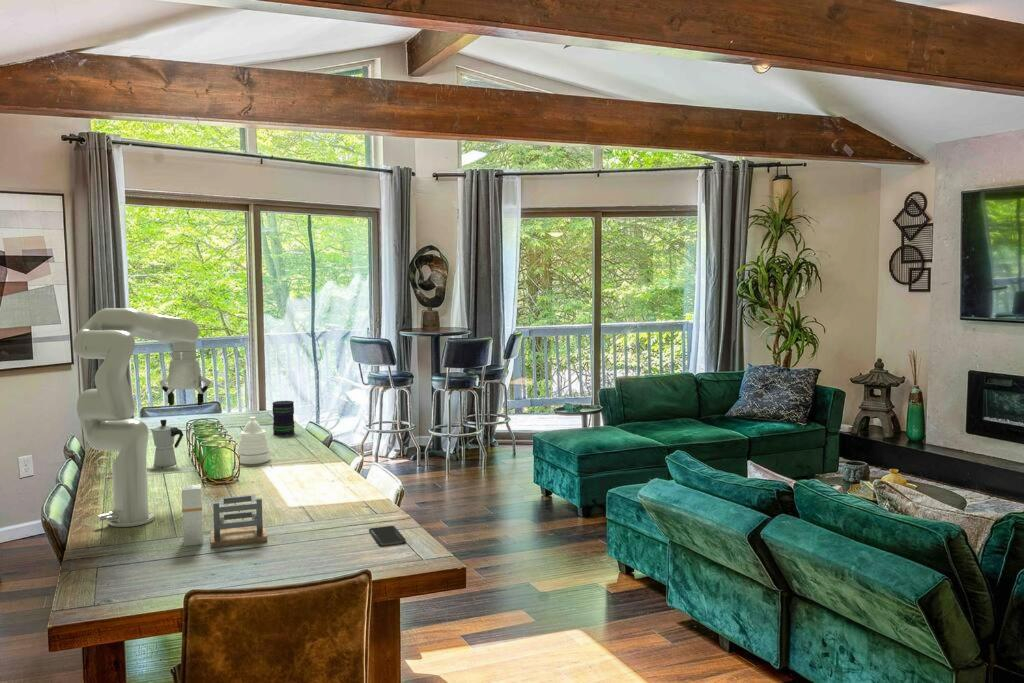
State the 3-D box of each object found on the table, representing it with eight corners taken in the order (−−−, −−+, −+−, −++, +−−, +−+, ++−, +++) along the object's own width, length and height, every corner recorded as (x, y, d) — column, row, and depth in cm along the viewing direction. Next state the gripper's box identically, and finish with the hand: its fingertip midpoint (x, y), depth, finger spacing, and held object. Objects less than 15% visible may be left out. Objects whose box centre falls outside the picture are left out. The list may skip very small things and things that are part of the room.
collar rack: (211, 547, 227) (209, 508, 226) (211, 535, 237) (209, 498, 236) (267, 541, 232) (266, 503, 231) (264, 529, 242) (263, 493, 241)
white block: (183, 546, 228) (181, 490, 227) (184, 540, 233) (181, 485, 231) (203, 544, 230) (201, 488, 228) (203, 538, 235) (201, 483, 233)
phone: (379, 544, 227) (368, 528, 241) (379, 548, 227) (368, 532, 241) (406, 540, 230) (394, 525, 244) (407, 544, 230) (394, 529, 244)
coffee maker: (143, 466, 322) (142, 421, 321) (158, 461, 331) (156, 417, 329) (176, 468, 319) (175, 422, 317) (190, 463, 327) (189, 418, 326)
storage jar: (272, 432, 389) (272, 401, 388) (294, 430, 392) (293, 400, 391) (273, 436, 380) (272, 404, 378) (295, 434, 383) (294, 403, 381)
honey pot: (271, 462, 328) (270, 418, 327) (237, 465, 323) (236, 420, 322) (268, 455, 340) (267, 412, 339) (236, 458, 335) (234, 415, 334)
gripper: (154, 357, 278) (156, 406, 279) (206, 356, 280) (208, 406, 281) (162, 355, 286) (164, 403, 287) (213, 355, 287) (214, 403, 288)
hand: (185, 405), depth 284 cm, fingers open, 9 cm apart
